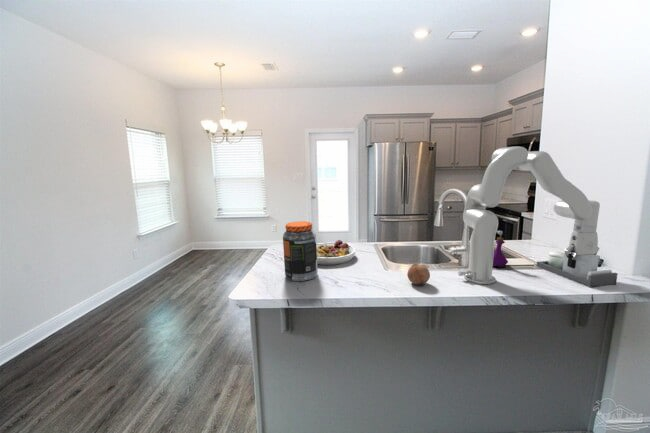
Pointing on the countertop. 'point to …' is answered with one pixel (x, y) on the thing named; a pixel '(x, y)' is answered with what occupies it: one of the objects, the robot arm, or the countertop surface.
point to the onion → (418, 274)
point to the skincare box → (582, 265)
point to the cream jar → (556, 259)
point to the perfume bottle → (499, 252)
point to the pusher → (599, 272)
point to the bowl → (334, 253)
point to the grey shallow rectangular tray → (592, 279)
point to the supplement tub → (300, 251)
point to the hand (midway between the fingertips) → (579, 266)
